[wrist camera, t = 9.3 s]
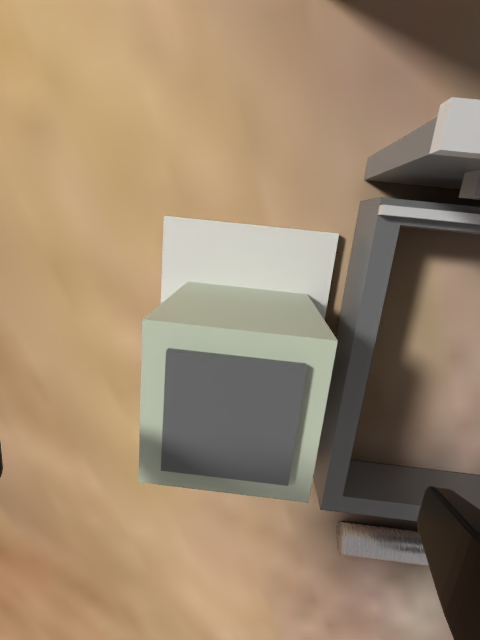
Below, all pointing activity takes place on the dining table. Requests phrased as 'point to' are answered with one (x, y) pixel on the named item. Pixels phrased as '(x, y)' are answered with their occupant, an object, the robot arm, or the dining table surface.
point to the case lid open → (436, 152)
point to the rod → (380, 543)
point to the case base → (354, 364)
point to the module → (234, 391)
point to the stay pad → (247, 257)
